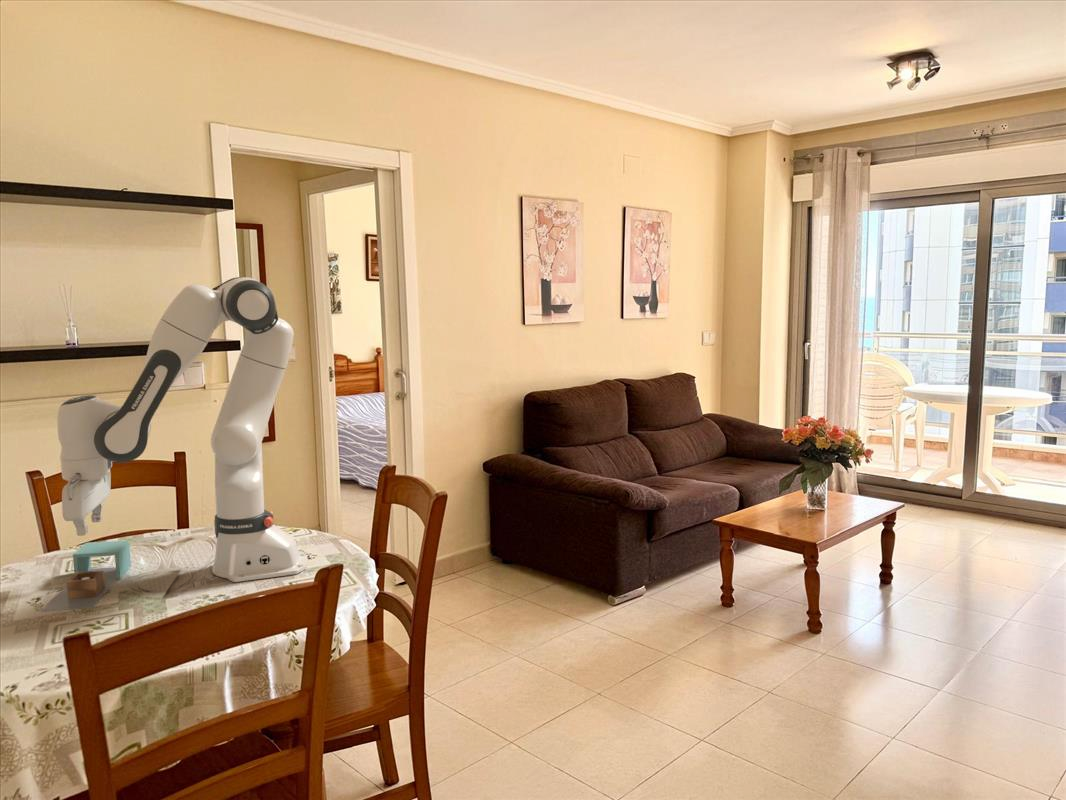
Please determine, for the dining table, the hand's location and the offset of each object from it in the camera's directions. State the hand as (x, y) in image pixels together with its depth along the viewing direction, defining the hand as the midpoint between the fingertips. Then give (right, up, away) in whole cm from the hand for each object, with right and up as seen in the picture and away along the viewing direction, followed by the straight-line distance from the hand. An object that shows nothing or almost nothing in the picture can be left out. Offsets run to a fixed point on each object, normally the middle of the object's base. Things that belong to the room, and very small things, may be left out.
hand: (90, 527), depth 170 cm
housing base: (-1, -15, +1) cm, 15 cm away
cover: (-2, -12, +9) cm, 15 cm away
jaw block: (0, -14, -2) cm, 14 cm away
